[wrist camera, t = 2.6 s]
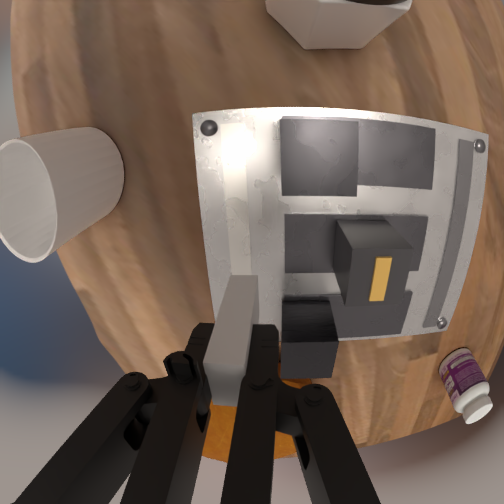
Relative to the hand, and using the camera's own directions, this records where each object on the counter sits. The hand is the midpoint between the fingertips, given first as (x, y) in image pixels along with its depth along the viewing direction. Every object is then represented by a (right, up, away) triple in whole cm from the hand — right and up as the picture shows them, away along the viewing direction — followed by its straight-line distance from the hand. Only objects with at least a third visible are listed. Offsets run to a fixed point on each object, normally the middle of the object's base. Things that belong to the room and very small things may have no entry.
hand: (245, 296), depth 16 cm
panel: (+9, +4, +7) cm, 12 cm away
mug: (-16, +9, +7) cm, 20 cm away
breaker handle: (+9, +3, +5) cm, 10 cm away
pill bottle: (+27, -12, +13) cm, 33 cm away
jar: (+6, +21, -1) cm, 22 cm away
